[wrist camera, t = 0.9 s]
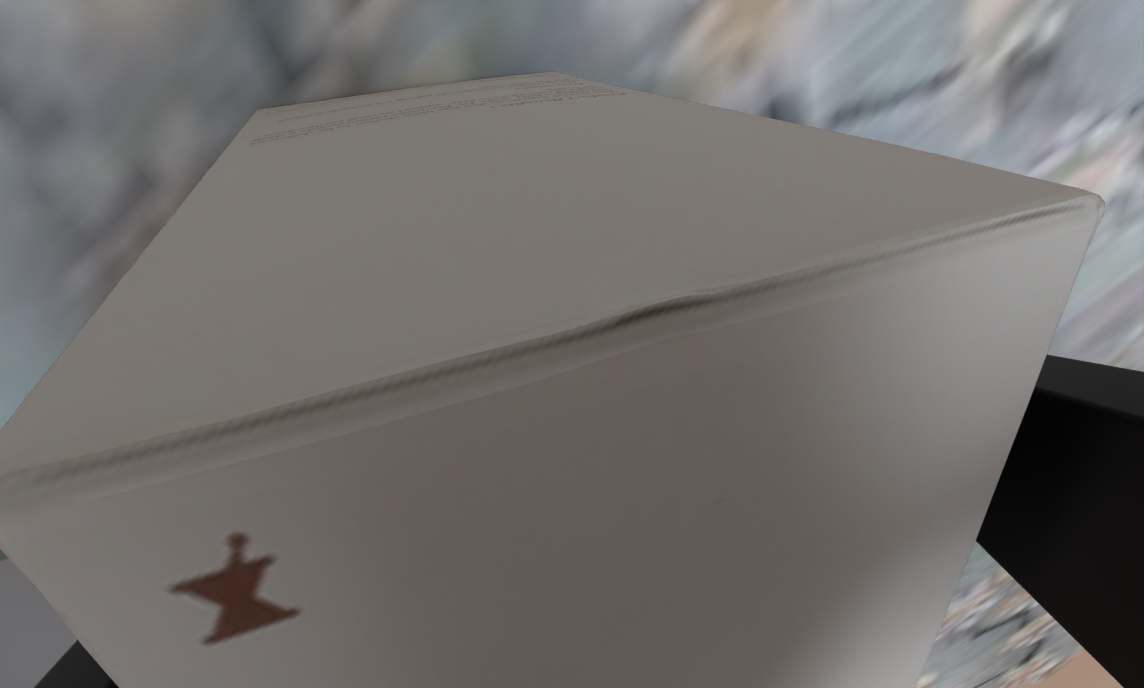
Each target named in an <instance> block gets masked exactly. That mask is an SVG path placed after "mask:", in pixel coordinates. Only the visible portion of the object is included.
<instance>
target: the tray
mask: <svg viewBox="0 0 1144 688" xmlns="http://www.w3.org/2000/svg"><path fill="white" fill-rule="evenodd" d="M76 640H77V638H76V637H75V635H74V634H73V633H72V632H71V630H70V629H69V628H68V626H67V625H66V624H65V623H64V621H63V620H62V619H61V617H60V616H59V615H58V614H57V612H56V611H55V610H54V608H53V607H52V606H51V605H50V603H49V602H48V601H47V599H46V598H45V597H44V596H43V594H42V593H41V592H40V591H39V590H38V589H37V588H36V586H35V585H34V584H33V583H32V582H31V581H30V580H29V579H28V578H27V577H26V576H25V575H24V574H23V573H22V572H21V571H20V570H19V569H18V567H17V566H16V565H15V564H14V563H13V562H12V561H11V560H10V559H9V558H8V557H7V556H6V555H5V554H4V553H3V552H2V551H1V550H0V688H34V687H35V686H36V684H37V683H38V682H39V681H40V680H41V679H42V678H43V677H44V676H45V675H46V673H47V672H48V671H49V670H50V669H51V668H52V667H53V666H54V665H55V663H56V662H57V661H58V660H59V659H60V658H61V657H62V656H63V655H64V654H65V652H66V651H67V650H68V649H69V648H70V647H71V646H72V645H73V644H74V643H75V641H76Z"/></svg>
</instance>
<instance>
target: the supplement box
mask: <svg viewBox="0 0 1144 688" xmlns="http://www.w3.org/2000/svg"><path fill="white" fill-rule="evenodd" d="M1104 213H1105V202H1104V200H1103V199H1102V198H1101V196H1100V195H1097V194H1094V193H1092V192H1089V191H1086V190H1083V189H1079V188H1074V187H1070V186H1066V185H1062V184H1058V183H1053V182H1049V181H1045V180H1041V179H1036V178H1032V177H1028V176H1024V175H1020V174H1016V173H1011V172H1007V171H1003V170H999V169H995V168H991V167H987V166H983V165H979V164H975V163H971V162H967V161H963V160H959V159H954V158H950V157H946V156H942V155H938V154H933V153H929V152H924V151H920V150H915V149H911V148H907V147H902V146H898V145H893V144H889V143H884V142H880V141H876V140H871V139H866V138H861V137H857V136H852V135H847V134H843V133H838V132H833V131H828V130H824V129H819V128H814V127H809V126H805V125H800V124H795V123H790V122H786V121H781V120H776V119H771V118H767V117H762V116H757V115H752V114H747V113H742V112H737V111H732V110H727V109H722V108H717V107H713V106H708V105H703V104H698V103H694V102H689V101H684V100H679V99H675V98H670V97H665V96H661V95H656V94H651V93H646V92H642V91H637V90H632V89H627V88H623V87H618V86H613V85H608V84H603V83H599V82H594V81H591V80H586V79H582V78H578V77H574V76H571V75H566V74H561V73H557V72H544V73H533V74H523V75H512V76H503V77H495V78H487V79H479V80H470V81H462V82H454V83H446V84H438V85H430V86H422V87H415V88H408V89H401V90H394V91H387V92H380V93H373V94H366V95H358V96H351V97H344V98H336V99H329V100H322V101H315V102H307V103H300V104H293V105H287V106H280V107H273V108H265V109H258V110H255V111H254V114H253V115H252V117H251V118H250V119H249V120H248V122H247V123H246V124H245V125H244V127H242V129H241V130H240V132H239V133H238V134H237V135H236V137H235V138H234V139H233V140H232V142H231V143H230V144H229V145H228V147H227V148H226V149H225V150H224V152H223V153H222V154H221V155H220V157H219V158H218V159H217V160H216V162H215V163H214V164H213V165H212V166H211V167H210V169H209V170H208V171H207V172H206V173H205V175H204V176H203V178H202V179H201V180H200V181H199V182H198V184H197V185H196V186H195V187H194V189H193V190H192V191H191V193H190V194H189V195H188V196H187V198H186V199H185V200H184V201H183V203H182V204H181V205H180V207H179V208H178V209H177V210H176V212H175V213H174V214H173V215H172V217H171V218H170V219H169V220H168V221H167V223H166V224H165V225H164V226H163V228H162V229H161V230H160V231H159V233H158V234H157V235H156V236H155V237H154V239H153V240H152V241H151V242H150V244H149V245H148V246H147V247H146V249H145V250H144V251H143V253H142V254H141V255H140V257H139V258H138V259H137V261H136V262H135V263H134V265H133V266H132V267H131V268H130V269H129V270H128V271H127V273H126V274H125V275H124V276H123V277H122V278H121V280H120V281H119V282H118V284H117V285H116V286H115V287H114V289H113V290H112V291H111V293H110V294H109V295H108V297H107V298H106V299H105V300H104V302H103V303H102V304H101V306H100V307H99V308H98V309H97V310H96V312H95V313H94V314H93V315H92V316H91V318H90V319H89V320H88V321H87V323H86V324H85V325H84V326H83V328H82V329H81V330H80V331H79V333H78V334H77V335H76V336H75V338H74V339H73V340H72V341H71V343H70V344H69V345H68V346H67V348H66V349H65V350H64V351H63V353H62V354H61V355H60V356H59V358H58V359H57V360H56V361H55V363H54V364H53V365H52V366H51V368H50V369H49V370H48V371H47V373H46V374H45V375H44V376H43V378H42V379H41V380H40V381H39V383H38V384H37V385H36V386H35V388H34V389H33V390H32V391H31V393H30V394H29V395H28V396H27V398H26V399H25V400H24V401H23V403H22V404H21V405H20V406H19V408H18V409H17V410H16V412H15V413H14V414H13V415H12V417H11V418H10V419H9V420H8V422H7V423H6V424H5V425H4V427H3V428H2V429H1V431H0V550H1V551H2V552H3V553H4V554H5V555H6V556H7V557H8V558H9V559H10V560H11V561H12V562H13V563H14V564H15V565H16V566H17V567H18V569H19V570H20V571H21V572H22V573H23V574H24V575H25V576H26V577H27V578H28V579H29V580H30V581H31V582H32V583H33V584H34V585H35V586H36V588H37V589H38V590H39V591H40V592H41V593H42V594H43V596H44V597H45V598H46V599H47V601H48V602H49V603H50V605H51V606H52V607H53V608H54V610H55V611H56V612H57V614H58V615H59V616H60V617H61V619H62V620H63V621H64V623H65V624H66V625H67V626H68V628H69V629H70V630H71V632H72V633H73V634H74V635H75V637H76V638H77V639H78V641H79V642H80V643H81V644H82V646H83V647H84V648H85V649H86V650H87V651H88V653H89V654H90V655H91V656H92V657H93V658H94V659H95V661H96V662H97V663H98V664H99V665H100V666H101V667H102V669H103V670H104V671H105V672H106V673H107V674H108V675H109V677H110V678H111V679H112V680H113V681H114V682H115V683H116V685H117V686H118V687H119V688H915V686H916V684H917V681H918V679H919V677H920V675H921V673H922V671H923V669H924V666H925V664H926V661H927V659H928V656H929V654H930V651H931V649H932V647H933V644H934V642H935V640H936V637H937V635H938V632H939V630H940V627H941V624H942V622H943V619H944V617H945V614H946V612H947V609H948V607H949V604H950V602H951V599H952V597H953V594H954V592H955V590H956V587H957V585H958V583H959V580H960V578H961V575H962V573H963V570H964V568H965V565H966V563H967V561H968V558H969V556H970V553H971V551H972V548H973V546H974V543H975V541H976V538H977V536H978V533H979V530H980V528H981V525H982V523H983V520H984V517H985V515H986V512H987V509H988V507H989V504H990V501H991V499H992V496H993V494H994V491H995V488H996V486H997V483H998V481H999V478H1000V475H1001V473H1002V470H1003V468H1004V465H1005V462H1006V460H1007V457H1008V455H1009V452H1010V449H1011V447H1012V444H1013V442H1014V439H1015V437H1016V434H1017V431H1018V429H1019V426H1020V424H1021V421H1022V419H1023V416H1024V413H1025V411H1026V408H1027V406H1028V403H1029V400H1030V398H1031V395H1032V392H1033V390H1034V387H1035V384H1036V382H1037V379H1038V376H1039V374H1040V371H1041V368H1042V366H1043V363H1044V360H1045V358H1046V355H1047V352H1048V350H1049V347H1050V344H1051V342H1052V339H1053V336H1054V334H1055V331H1056V328H1057V326H1058V323H1059V321H1060V318H1061V316H1062V313H1063V310H1064V308H1065V305H1066V303H1067V300H1068V297H1069V295H1070V292H1071V290H1072V287H1073V285H1074V282H1075V279H1076V277H1077V274H1078V272H1079V269H1080V267H1081V264H1082V262H1083V259H1084V256H1085V254H1086V251H1087V249H1088V247H1089V245H1090V243H1091V240H1092V238H1093V236H1094V234H1095V232H1096V230H1097V228H1098V225H1099V223H1100V221H1101V219H1102V217H1103V215H1104Z"/></svg>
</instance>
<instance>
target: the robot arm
mask: <svg viewBox="0 0 1144 688" xmlns="http://www.w3.org/2000/svg"><path fill="white" fill-rule="evenodd" d="M976 542H977V543H978V544H979V545H980V546H981V547H982V548H983V549H984V550H985V551H986V552H987V553H988V554H989V555H990V556H991V557H992V558H993V559H994V560H995V561H996V562H997V563H998V564H999V565H1001V566H1002V567H1003V568H1004V569H1005V570H1006V571H1007V572H1008V573H1009V574H1010V575H1011V576H1012V577H1013V578H1014V579H1015V580H1016V581H1017V582H1018V583H1019V584H1020V585H1021V586H1022V587H1023V588H1024V589H1025V590H1026V591H1027V592H1028V593H1029V594H1030V595H1031V596H1032V597H1033V598H1034V599H1035V600H1036V601H1037V602H1038V603H1039V604H1040V605H1041V606H1042V607H1043V608H1044V609H1045V610H1046V611H1047V612H1048V613H1049V614H1050V615H1051V616H1052V617H1053V618H1054V619H1055V620H1056V621H1057V622H1058V623H1059V624H1060V625H1061V626H1062V627H1063V628H1064V629H1065V630H1066V631H1067V632H1068V633H1069V634H1070V635H1071V636H1072V637H1073V638H1074V639H1075V640H1076V641H1077V642H1078V643H1079V644H1080V645H1081V646H1082V647H1083V648H1084V649H1085V650H1086V651H1087V652H1088V653H1089V654H1090V655H1091V656H1092V657H1093V658H1095V660H1096V661H1097V662H1098V663H1099V664H1101V666H1102V667H1103V668H1104V669H1105V670H1106V671H1107V672H1108V673H1109V674H1110V675H1111V676H1113V677H1114V678H1115V679H1116V680H1117V681H1118V682H1119V683H1120V684H1121V685H1122V686H1123V687H1124V688H1144V372H1142V371H1136V370H1130V369H1125V368H1119V367H1114V366H1108V365H1102V364H1097V363H1091V362H1086V361H1080V360H1074V359H1069V358H1063V357H1058V356H1052V355H1046V358H1045V360H1044V363H1043V366H1042V368H1041V371H1040V374H1039V376H1038V379H1037V382H1036V384H1035V387H1034V390H1033V392H1032V395H1031V398H1030V400H1029V403H1028V406H1027V408H1026V411H1025V413H1024V416H1023V419H1022V421H1021V424H1020V426H1019V429H1018V431H1017V434H1016V437H1015V439H1014V442H1013V444H1012V447H1011V449H1010V452H1009V455H1008V457H1007V460H1006V462H1005V465H1004V468H1003V470H1002V473H1001V475H1000V478H999V481H998V483H997V486H996V488H995V491H994V494H993V496H992V499H991V501H990V504H989V507H988V509H987V512H986V515H985V517H984V520H983V523H982V525H981V528H980V530H979V533H978V536H977V538H976ZM34 688H119V687H118V686H117V685H116V683H115V682H114V681H113V680H112V679H111V678H110V677H109V675H108V674H107V673H106V672H105V671H104V670H103V669H102V667H101V666H100V665H99V664H98V663H97V662H96V661H95V659H94V658H93V657H92V656H91V655H90V654H89V653H88V651H87V650H86V649H85V648H84V647H83V646H82V644H81V643H80V642H79V641H78V639H77V640H76V641H75V643H74V644H73V645H72V646H71V647H70V648H69V649H68V650H67V651H66V652H65V654H64V655H63V656H62V657H61V658H60V659H59V660H58V661H57V662H56V663H55V665H54V666H53V667H52V668H51V669H50V670H49V671H48V672H47V673H46V675H45V676H44V677H43V678H42V679H41V680H40V681H39V682H38V683H37V684H36V686H35V687H34Z"/></svg>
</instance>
